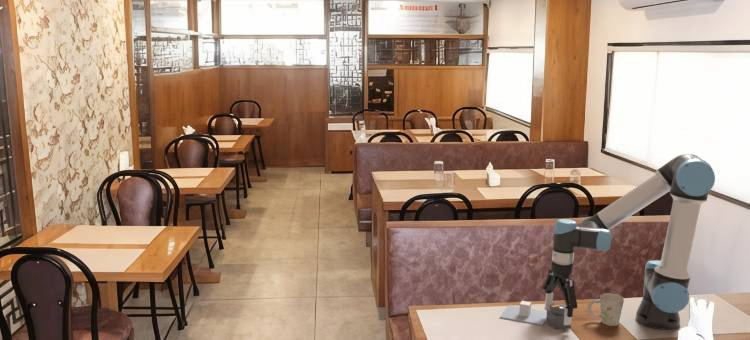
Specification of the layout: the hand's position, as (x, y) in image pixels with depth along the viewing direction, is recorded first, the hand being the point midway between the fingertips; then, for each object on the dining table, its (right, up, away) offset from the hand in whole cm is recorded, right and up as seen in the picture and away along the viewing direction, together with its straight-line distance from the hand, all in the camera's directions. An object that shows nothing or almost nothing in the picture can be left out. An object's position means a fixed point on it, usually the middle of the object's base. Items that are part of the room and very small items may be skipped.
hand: (557, 317), depth 243 cm
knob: (0, -3, 0) cm, 3 cm away
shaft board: (-10, -1, +8) cm, 13 cm away
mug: (+18, -3, +3) cm, 19 cm away
